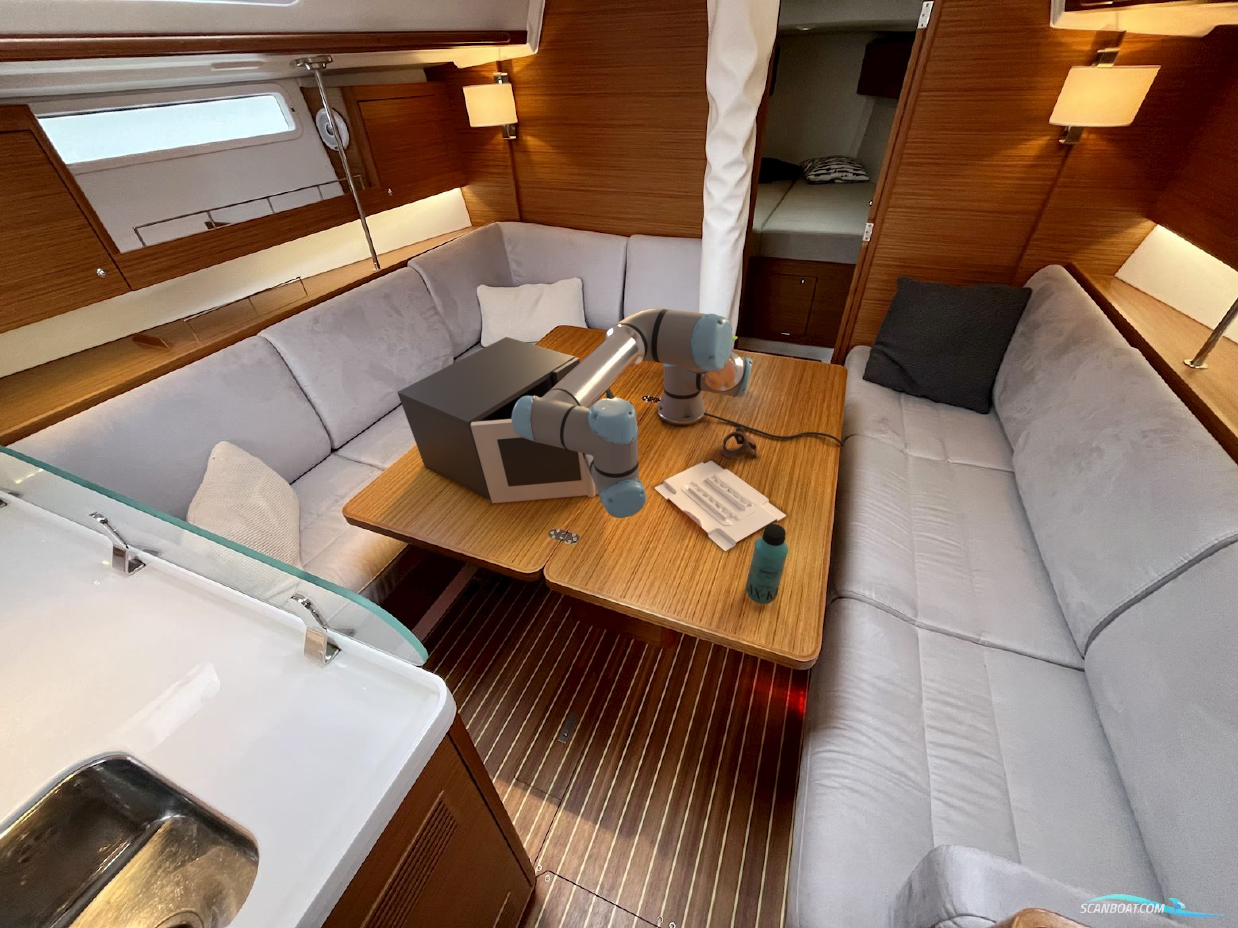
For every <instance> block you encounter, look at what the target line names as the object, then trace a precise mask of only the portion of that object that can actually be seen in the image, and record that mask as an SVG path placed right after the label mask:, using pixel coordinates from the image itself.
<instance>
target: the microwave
mask: <svg viewBox="0 0 1238 928" xmlns="http://www.w3.org/2000/svg"><path fill="white" fill-rule="evenodd" d="M580 363H581V361H580V358H579V357H576V356H574V355H571V354H567V353H564V352H561V351H557V350H553V349H551V348H547V347H543V346H540V345H537V344H533V343H529V342H525V341H522V340H519V339H515V338H512V337H508V336H505V337H503V338H501V339H499V340H496V341H495V342H493V343H491V344H490V345H489V344H488V345H487V346H486V347H484V348H483V347H482V349H480V350H477V351H475V352H474V353H471V354H470V355H467V356H465V357H463V358H461V359H459V360H457V361H456V362H454V363H451V364H449V365H448V366H446V367H444V368H441V369H440V370H438V371H436V372H433V373H432V374H430V375H428V376H426V377H424V378H421V379H420V380H418V381H416V382H414V383H412V384H410V385H408V386H406V387H404V388H403V389H402V388H401V389H400V390H398V391H396V392H397V395H398V398H399V401H400V404H401V406H402V409H403V412H404V415H405V418H406V420H407V423H408V425H409V428H410V431H411V433H412V437H413V438H414V441H415V445H416V447H417V450H418V452H419V455H420V457H421V461H422V463H423V465H424V467H425V468H427V469H429V470H431V471H433V472H435V473H437V474H439V475H440V476H443V477H444V478H447V479H449V480H450V481H453V482H454V483H456V484H458V485H460V486H462V487H464V488H466V489H468V491H469V490H470V491H471V492H473V493H476V494H477V495H479V496H481V497H483V498H485V499H487V500H489V501H491V497H490V494H489V490H488V487H487V483H486V479H485V476H484V472H483V469H482V465H481V462H480V458H479V454H478V451H477V447H476V444H475V440H474V436H473V433H472V429H471V423H472V422H480V421H492V420H504V419H512V412H513V409H514V406H515V404H516V403H517V401H518V400H519V399H520V398H522V397H523V396H538V397H539V398H541V397H543V396H544V395H545V394H546V393H547V392H549V391H550V390H551V389H552V388H553V387H554V386H555V385H556V384H557V383H558V382H560V381H561V380H562V379H563V378H564V377H565V376H566V375H567V374H568V373H570V372H571V371H572V370H573V369H574V368H575V367H576V366H577V365H578V364H580Z"/></svg>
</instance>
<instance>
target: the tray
mask: <svg viewBox="0 0 1238 928" xmlns="http://www.w3.org/2000/svg"><path fill="white" fill-rule="evenodd" d="M654 489H655V490H656V492H658V493H659V494H660V495H661V496H662V497H663V498H664V499H666V500H670V501H671V502H672V503H673V504H675V506H677V507H678V508H679V509H680V510H681V511H682V512H683V513H684V514H686V515H687V516H688V517H689V518H690V519H691V520H693V522H695V523H696V524H697V525H698V526H699V527H701V529H702V530H704V531H705V532H706V533H707V537H708V538H709V539H710V540H711V541H713V542H714V543H715V544H716V545H717V546H718V547H720V549H722V550H723V551H724V552H727V551H728V550H730V549H732V548H734V547H735V546H736V545H737V542H739V541H741V540H743V539H745V538H746V537H748V536H750V535H751V534H753V533H755V532H757V531H759V530H760V529H762V528H765V527H766V526H767V525H769V524H772V523H773V522H774V521H777V522H778V521H781V520H782V519H783V518H786V517H787V515H786V514H785V513H784V512H782V511H781V510H780V509H778V508H777V507H776V506H774V505H773V504H771V503H770V499H769V498H768V497H767V496H765V495H764V494H762V493H761V492H760V491H758V490H757V489H755V488H754V487H753V486H752V485H750V484H748V483H747V482H745V481H744V480H743V479H741V478H740V477H739V476H737V475H736V474H735V473H733V472H732V471H731V470H729V469H728V468H725V469H724V468H723V467H721V465H718V464H717V463H716V462H714V461H713V460H709V461H707V462H705V463H704V462H703V461H702V462H700V463H697V464H696V465H693V466H691V467H689V468H687V469H685V470H683V471H681V472H679V473H676V474H675V475H672V476H670V477H668V478H666V479H664V480H663V483H661V484H659V485H656V486H654Z"/></svg>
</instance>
